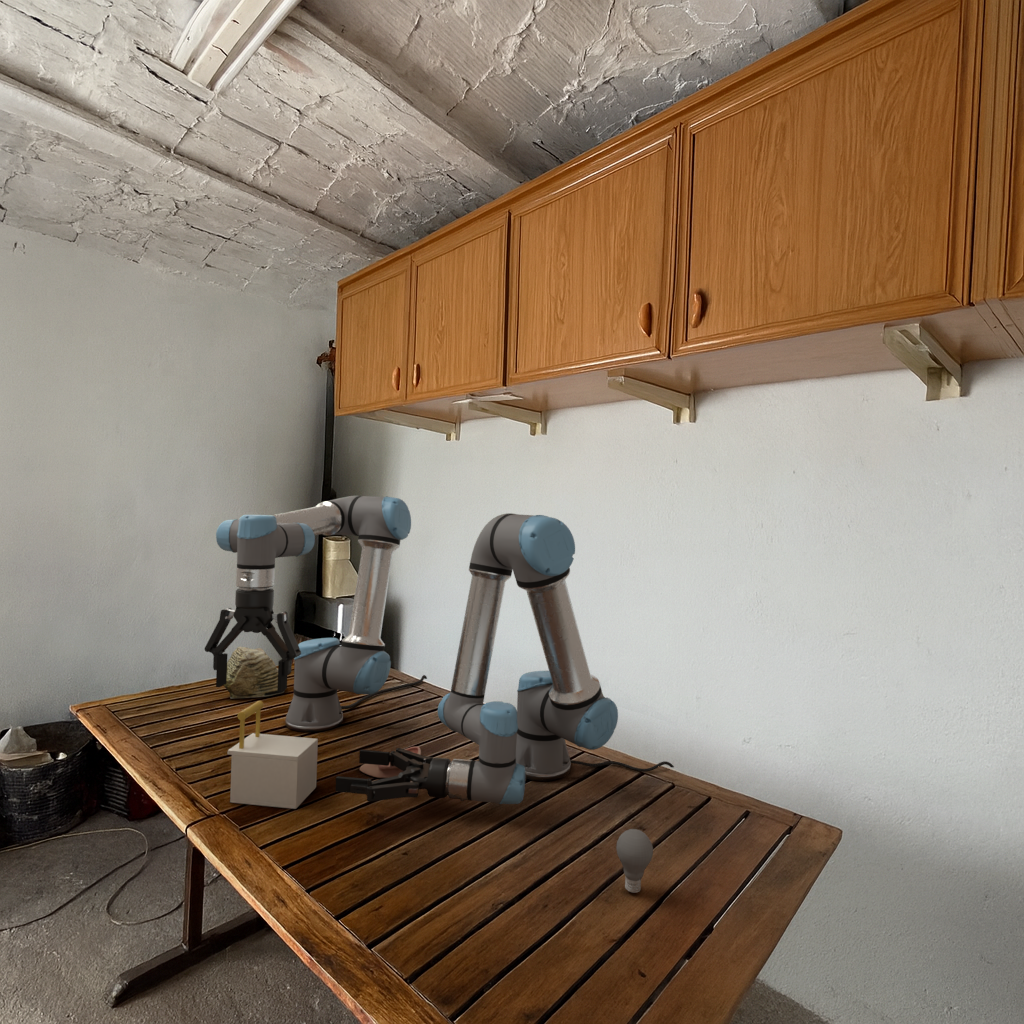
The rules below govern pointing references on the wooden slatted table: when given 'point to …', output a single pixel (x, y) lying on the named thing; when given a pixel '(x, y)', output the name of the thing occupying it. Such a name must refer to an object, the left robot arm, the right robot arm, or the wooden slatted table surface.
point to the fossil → (251, 674)
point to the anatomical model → (385, 767)
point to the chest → (273, 780)
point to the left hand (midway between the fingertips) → (251, 687)
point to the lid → (268, 741)
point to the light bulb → (634, 857)
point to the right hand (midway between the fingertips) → (348, 769)
